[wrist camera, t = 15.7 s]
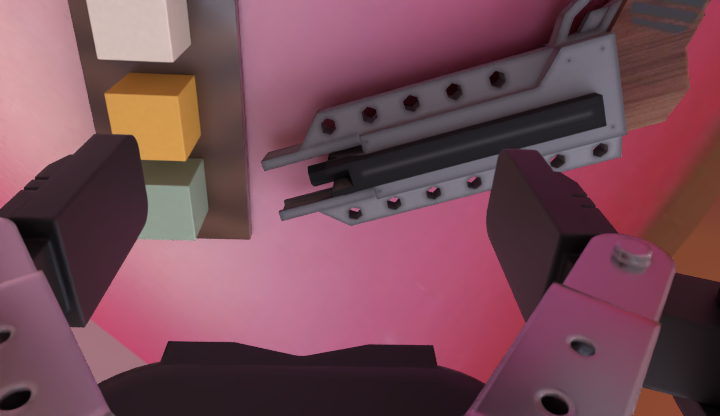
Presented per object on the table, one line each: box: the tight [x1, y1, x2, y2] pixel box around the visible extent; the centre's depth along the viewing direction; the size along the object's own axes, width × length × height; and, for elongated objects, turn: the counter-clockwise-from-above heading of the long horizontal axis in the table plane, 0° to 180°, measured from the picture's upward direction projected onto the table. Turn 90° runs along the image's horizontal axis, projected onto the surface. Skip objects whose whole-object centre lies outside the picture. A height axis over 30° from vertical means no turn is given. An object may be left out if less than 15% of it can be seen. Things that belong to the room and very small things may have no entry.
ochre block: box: [105, 73, 201, 161], centre depth 37 cm, size 5×5×5 cm
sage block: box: [137, 158, 209, 241], centre depth 40 cm, size 5×5×5 cm
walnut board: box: [68, 0, 252, 240], centre depth 38 cm, size 30×11×1 cm, turn 177°
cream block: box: [86, 0, 191, 62], centre depth 34 cm, size 5×5×5 cm
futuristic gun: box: [261, 0, 710, 226], centre depth 37 cm, size 7×34×15 cm
